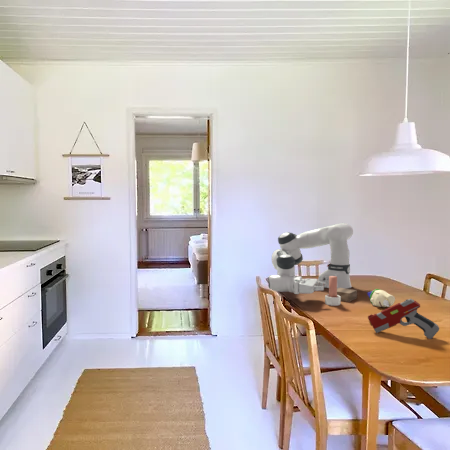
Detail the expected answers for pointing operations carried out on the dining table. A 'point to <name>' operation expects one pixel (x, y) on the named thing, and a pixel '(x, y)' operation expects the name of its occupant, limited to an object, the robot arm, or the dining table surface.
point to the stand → (347, 294)
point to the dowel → (332, 286)
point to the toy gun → (400, 311)
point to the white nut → (332, 300)
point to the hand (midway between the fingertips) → (324, 286)
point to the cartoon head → (381, 298)
